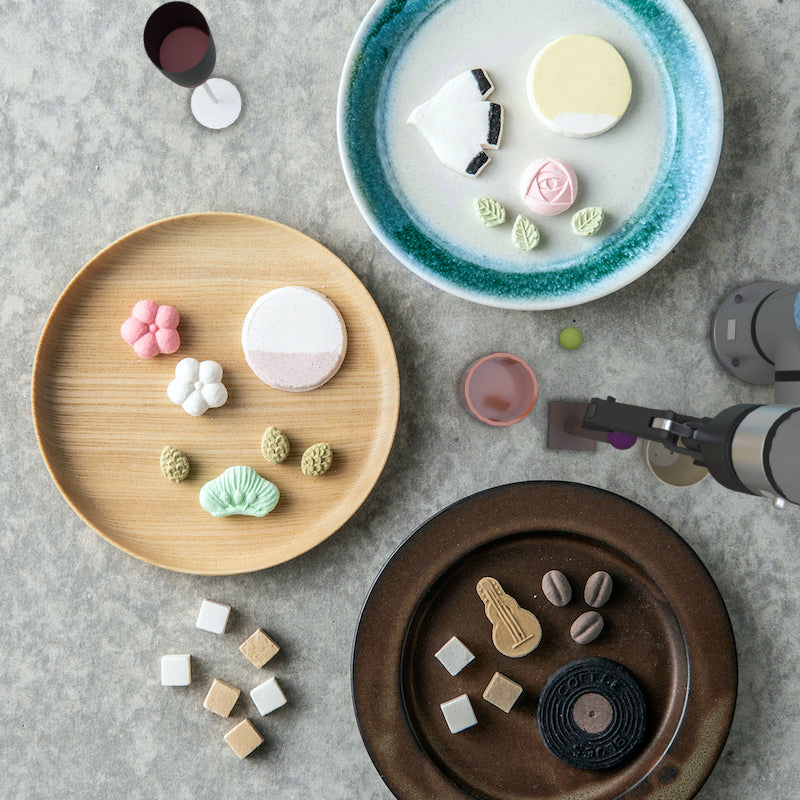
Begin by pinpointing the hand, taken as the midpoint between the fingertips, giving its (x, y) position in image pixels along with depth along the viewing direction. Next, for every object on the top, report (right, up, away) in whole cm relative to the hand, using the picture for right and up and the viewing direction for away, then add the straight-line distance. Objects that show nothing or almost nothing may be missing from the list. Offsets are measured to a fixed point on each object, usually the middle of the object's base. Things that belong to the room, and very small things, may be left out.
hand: (643, 435), depth 78 cm
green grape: (-1, +13, +28) cm, 31 cm away
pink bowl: (-13, +5, +29) cm, 32 cm away
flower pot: (+13, -4, +30) cm, 33 cm away
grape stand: (-1, 0, +30) cm, 30 cm away
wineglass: (-54, +48, +28) cm, 78 cm away
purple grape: (-1, 0, +6) cm, 6 cm away
